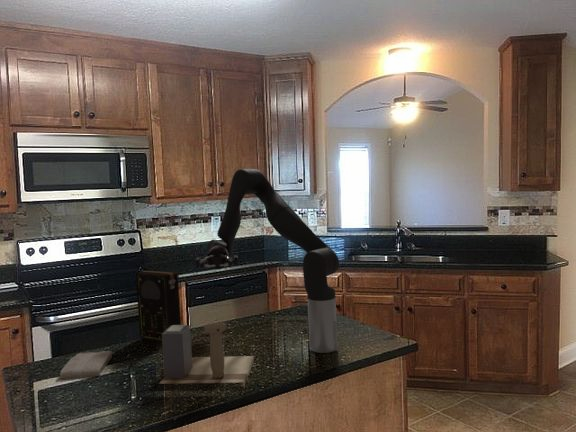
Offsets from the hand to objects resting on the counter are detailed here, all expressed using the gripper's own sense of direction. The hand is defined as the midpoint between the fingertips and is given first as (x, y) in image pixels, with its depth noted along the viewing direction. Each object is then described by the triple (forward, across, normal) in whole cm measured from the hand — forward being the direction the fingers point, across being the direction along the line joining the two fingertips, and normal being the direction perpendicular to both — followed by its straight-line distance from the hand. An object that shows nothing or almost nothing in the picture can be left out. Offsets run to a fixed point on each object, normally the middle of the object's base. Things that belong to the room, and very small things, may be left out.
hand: (216, 264), depth 159 cm
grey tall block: (+16, -12, +29) cm, 35 cm away
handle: (+21, 0, +29) cm, 36 cm away
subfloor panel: (+15, -3, +30) cm, 34 cm away
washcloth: (+2, -42, +31) cm, 52 cm away
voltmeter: (-22, -23, +30) cm, 44 cm away
